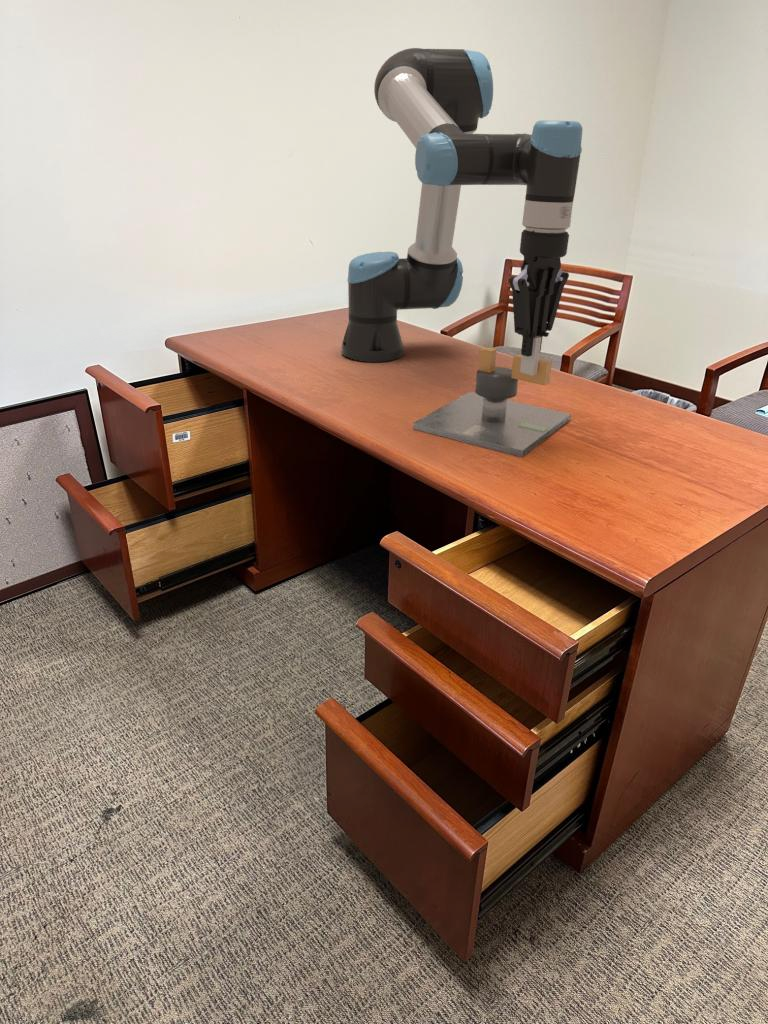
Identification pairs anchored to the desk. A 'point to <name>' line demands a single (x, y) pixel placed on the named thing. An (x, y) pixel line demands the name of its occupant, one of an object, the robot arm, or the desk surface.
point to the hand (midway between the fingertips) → (528, 373)
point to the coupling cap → (506, 375)
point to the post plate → (493, 423)
